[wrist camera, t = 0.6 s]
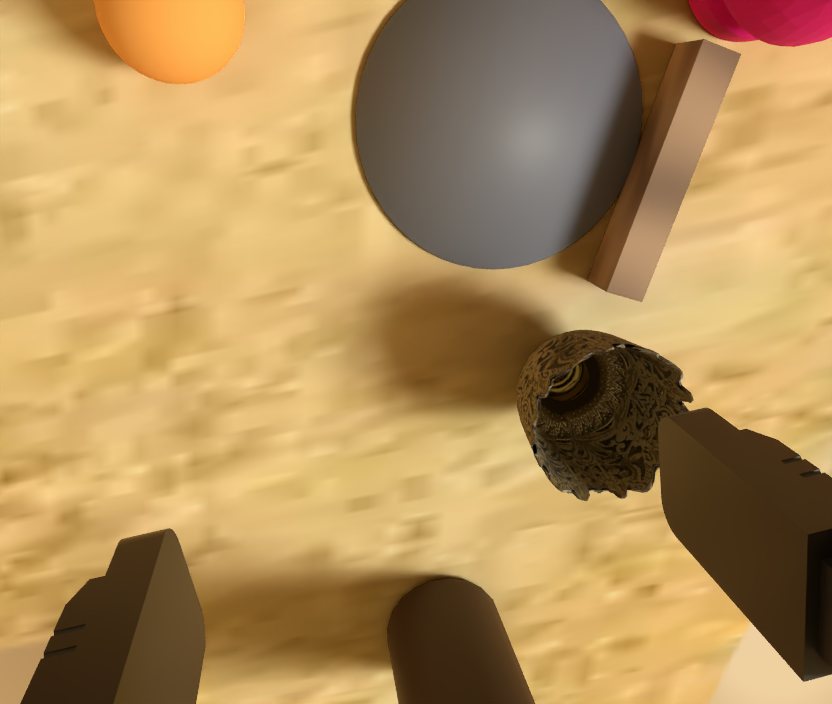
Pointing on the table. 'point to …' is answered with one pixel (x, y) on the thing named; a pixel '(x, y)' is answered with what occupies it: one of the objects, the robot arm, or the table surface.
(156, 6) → the ball
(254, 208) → the table surface
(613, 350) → the cup
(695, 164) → the strip
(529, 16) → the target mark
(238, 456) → the table surface
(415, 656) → the bottle
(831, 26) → the pepper mill
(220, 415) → the table surface
